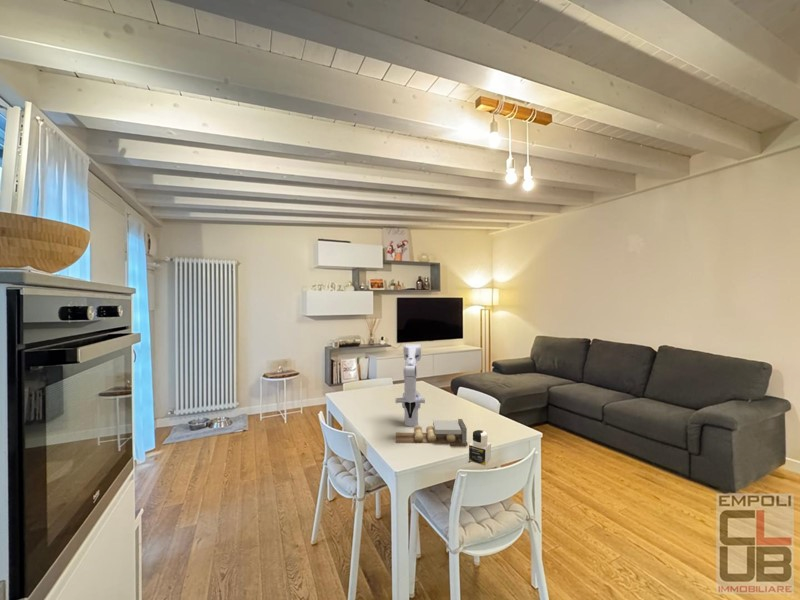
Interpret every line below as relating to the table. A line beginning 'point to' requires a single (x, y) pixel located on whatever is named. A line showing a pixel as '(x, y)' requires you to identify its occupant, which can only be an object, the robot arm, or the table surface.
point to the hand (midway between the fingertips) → (410, 417)
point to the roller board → (425, 440)
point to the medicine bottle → (480, 448)
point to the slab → (446, 427)
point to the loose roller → (450, 437)
